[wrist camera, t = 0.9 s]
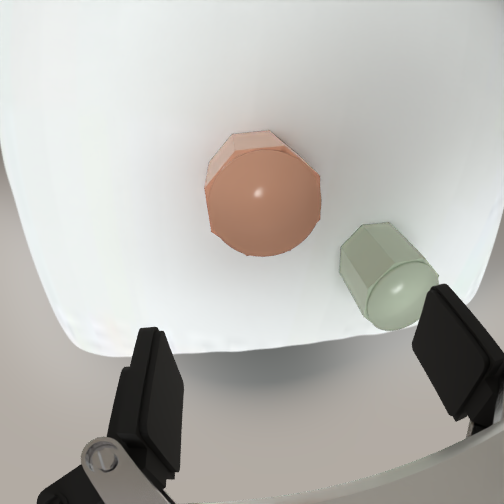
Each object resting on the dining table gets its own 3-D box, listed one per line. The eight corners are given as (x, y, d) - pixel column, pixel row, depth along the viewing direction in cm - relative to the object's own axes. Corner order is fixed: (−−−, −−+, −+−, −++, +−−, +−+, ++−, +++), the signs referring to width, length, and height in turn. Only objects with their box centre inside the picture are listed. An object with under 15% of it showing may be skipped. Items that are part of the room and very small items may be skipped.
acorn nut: (406, 220, 31) (447, 258, 24) (397, 279, 35) (429, 322, 28) (341, 227, 31) (373, 270, 24) (338, 288, 35) (362, 338, 28)
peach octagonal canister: (295, 128, 26) (321, 144, 19) (298, 209, 29) (322, 251, 22) (205, 137, 25) (198, 156, 18) (217, 218, 29) (215, 264, 22)
